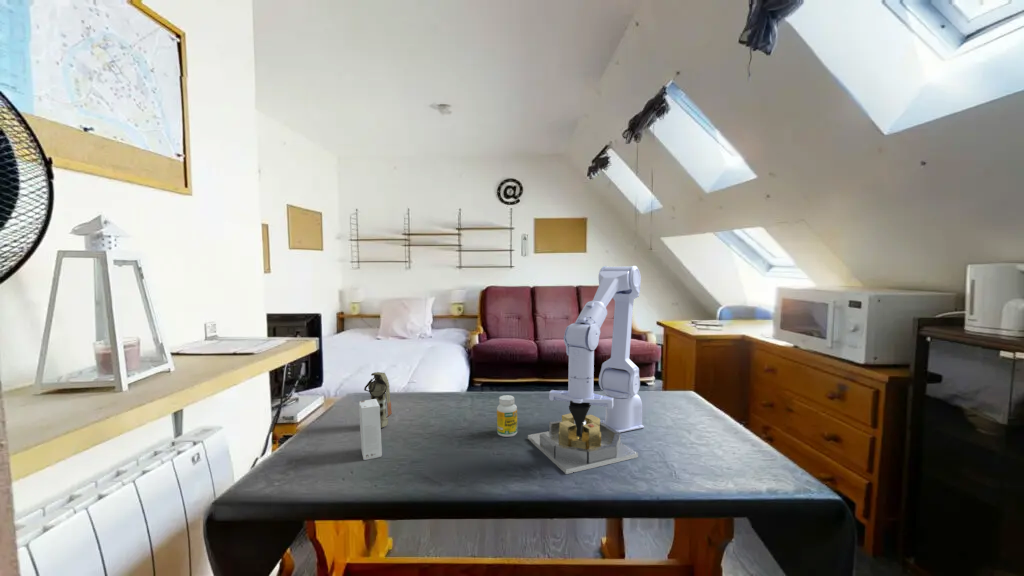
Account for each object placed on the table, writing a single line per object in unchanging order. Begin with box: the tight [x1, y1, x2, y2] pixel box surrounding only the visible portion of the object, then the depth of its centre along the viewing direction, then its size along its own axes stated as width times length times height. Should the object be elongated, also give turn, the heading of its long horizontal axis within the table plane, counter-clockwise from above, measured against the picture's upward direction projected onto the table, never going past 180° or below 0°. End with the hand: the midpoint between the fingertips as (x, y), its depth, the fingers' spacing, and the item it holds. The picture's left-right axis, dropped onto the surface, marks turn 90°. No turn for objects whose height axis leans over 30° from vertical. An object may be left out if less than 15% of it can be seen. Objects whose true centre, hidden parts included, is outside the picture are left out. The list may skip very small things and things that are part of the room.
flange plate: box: [527, 419, 639, 475], centre depth 95 cm, size 19×19×7 cm
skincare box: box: [358, 398, 383, 461], centre depth 93 cm, size 6×4×12 cm
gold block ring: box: [559, 412, 601, 449], centre depth 95 cm, size 10×10×6 cm
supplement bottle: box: [496, 394, 518, 438], centre depth 104 cm, size 5×5×10 cm
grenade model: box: [363, 371, 393, 429], centre depth 108 cm, size 6×7×15 cm
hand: (580, 434), depth 91 cm, fingers closed, pressing on gold block ring
